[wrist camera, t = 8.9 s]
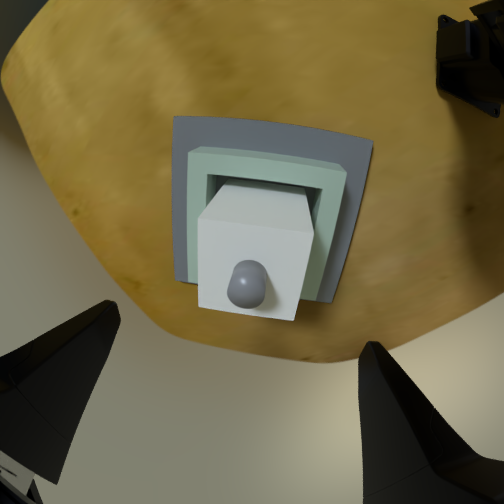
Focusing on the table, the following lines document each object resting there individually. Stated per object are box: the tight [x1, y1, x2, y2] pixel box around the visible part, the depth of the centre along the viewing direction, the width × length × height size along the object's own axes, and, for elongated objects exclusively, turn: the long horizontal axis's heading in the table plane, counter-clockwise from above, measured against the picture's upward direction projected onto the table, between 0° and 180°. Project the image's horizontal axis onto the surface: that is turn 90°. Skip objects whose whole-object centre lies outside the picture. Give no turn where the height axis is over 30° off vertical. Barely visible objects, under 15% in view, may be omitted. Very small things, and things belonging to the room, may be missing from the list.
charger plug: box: [198, 179, 314, 321], centre depth 15 cm, size 5×5×8 cm
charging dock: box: [172, 116, 373, 303], centre depth 18 cm, size 13×13×3 cm
